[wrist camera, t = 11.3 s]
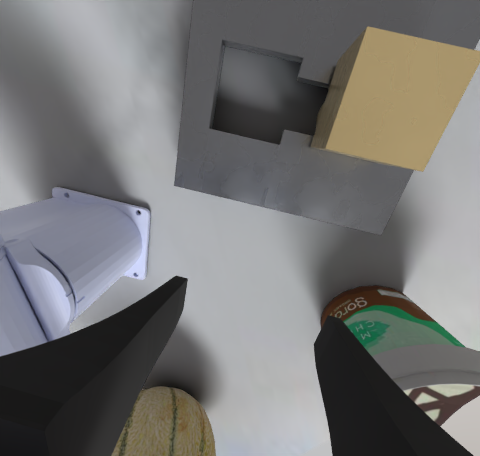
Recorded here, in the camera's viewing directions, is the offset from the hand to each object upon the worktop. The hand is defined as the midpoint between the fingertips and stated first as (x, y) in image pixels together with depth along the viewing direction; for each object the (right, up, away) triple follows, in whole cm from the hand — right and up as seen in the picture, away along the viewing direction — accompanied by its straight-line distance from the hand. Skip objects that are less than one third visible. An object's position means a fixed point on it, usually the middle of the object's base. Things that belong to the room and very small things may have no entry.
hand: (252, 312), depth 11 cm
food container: (+10, -4, +12) cm, 16 cm away
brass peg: (+7, +12, +6) cm, 15 cm away
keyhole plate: (+4, +13, +6) cm, 15 cm away
